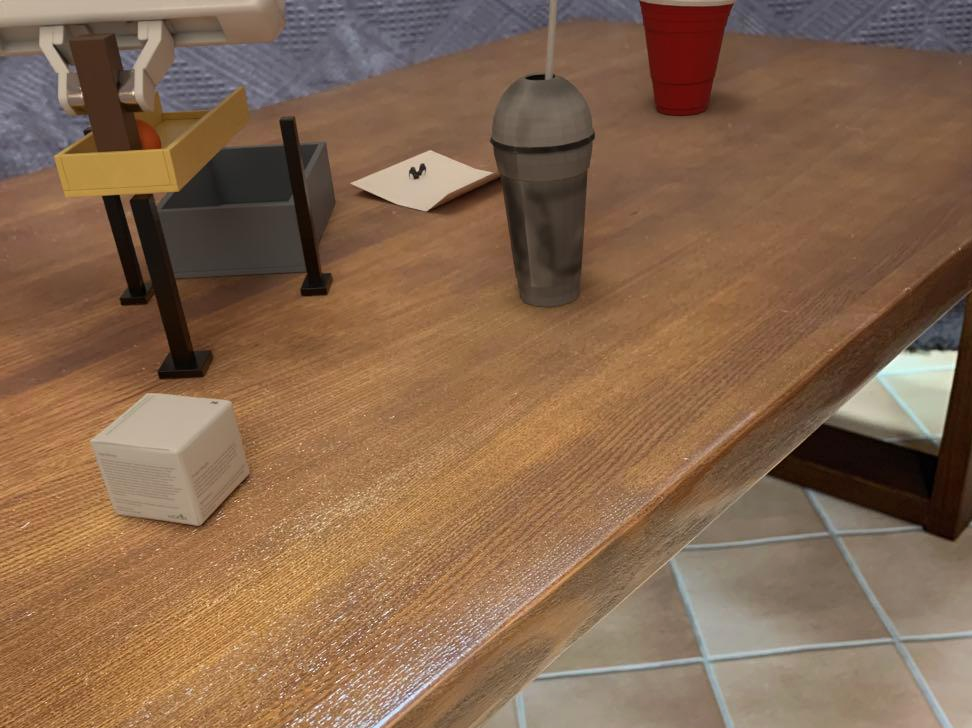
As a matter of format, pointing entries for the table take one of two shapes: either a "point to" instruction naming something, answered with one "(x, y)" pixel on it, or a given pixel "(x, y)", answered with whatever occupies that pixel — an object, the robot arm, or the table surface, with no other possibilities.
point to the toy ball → (148, 136)
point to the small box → (171, 458)
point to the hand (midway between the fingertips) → (106, 108)
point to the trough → (115, 139)
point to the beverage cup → (544, 179)
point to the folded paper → (425, 181)
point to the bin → (244, 213)
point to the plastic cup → (684, 50)
